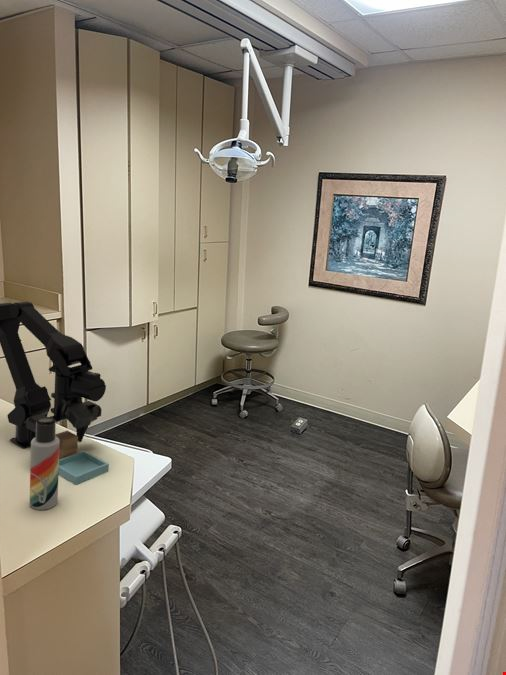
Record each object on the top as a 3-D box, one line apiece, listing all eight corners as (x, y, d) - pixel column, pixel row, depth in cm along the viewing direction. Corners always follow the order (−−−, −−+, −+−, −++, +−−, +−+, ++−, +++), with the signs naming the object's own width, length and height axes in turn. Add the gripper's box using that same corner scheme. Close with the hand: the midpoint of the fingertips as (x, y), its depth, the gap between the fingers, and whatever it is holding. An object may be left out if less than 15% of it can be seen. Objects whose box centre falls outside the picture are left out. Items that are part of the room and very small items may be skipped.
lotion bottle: (29, 512, 107) (31, 425, 102) (29, 497, 112) (31, 414, 107) (58, 508, 109) (61, 423, 104) (56, 494, 114) (59, 413, 109)
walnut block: (51, 456, 130) (52, 435, 129) (66, 451, 134) (67, 430, 133) (62, 462, 128) (62, 441, 127) (77, 457, 132) (78, 436, 130)
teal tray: (51, 469, 124) (51, 462, 123) (84, 457, 132) (84, 450, 131) (75, 484, 119) (75, 477, 118) (108, 470, 127) (108, 463, 126)
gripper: (53, 409, 115) (51, 470, 119) (116, 392, 130) (113, 446, 134) (25, 395, 121) (24, 454, 124) (89, 380, 136) (86, 433, 140)
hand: (64, 447), depth 130 cm, fingers open, 9 cm apart
